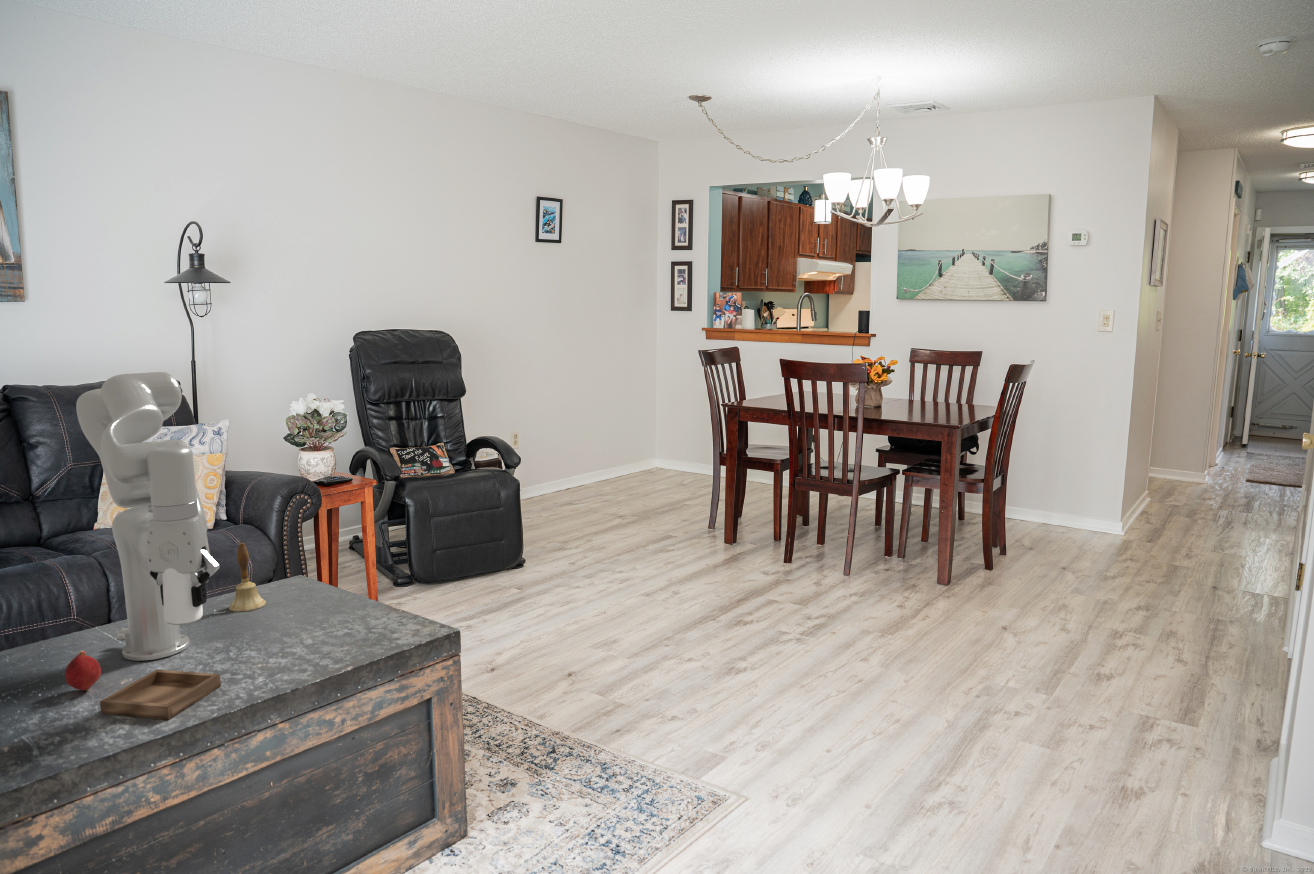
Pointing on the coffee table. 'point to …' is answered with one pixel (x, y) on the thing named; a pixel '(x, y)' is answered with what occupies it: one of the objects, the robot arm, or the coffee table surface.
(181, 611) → the can
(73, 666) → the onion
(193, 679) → the tray
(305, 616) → the coffee table surface
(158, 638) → the robot arm
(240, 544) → the hand bell
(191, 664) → the coffee table surface
